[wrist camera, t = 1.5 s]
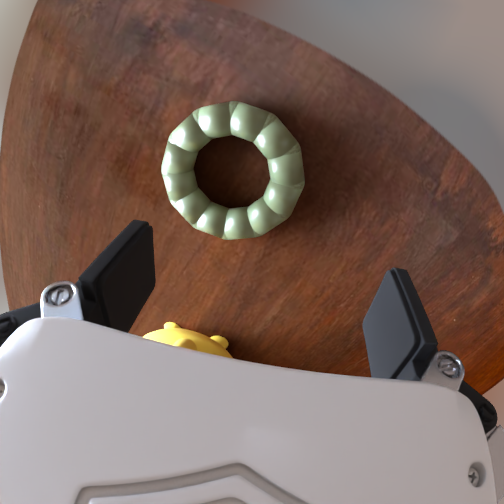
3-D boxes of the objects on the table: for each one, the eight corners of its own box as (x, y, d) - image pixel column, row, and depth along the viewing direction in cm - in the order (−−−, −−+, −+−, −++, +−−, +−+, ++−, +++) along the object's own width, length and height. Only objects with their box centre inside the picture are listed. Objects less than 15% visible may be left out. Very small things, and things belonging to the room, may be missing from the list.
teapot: (277, 370, 34) (267, 453, 24) (194, 389, 39) (173, 455, 30) (203, 286, 29) (163, 379, 19) (122, 323, 34) (81, 392, 24)
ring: (241, 74, 18) (234, 72, 16) (330, 182, 21) (334, 193, 19) (146, 162, 23) (132, 170, 21) (229, 251, 26) (223, 266, 24)
